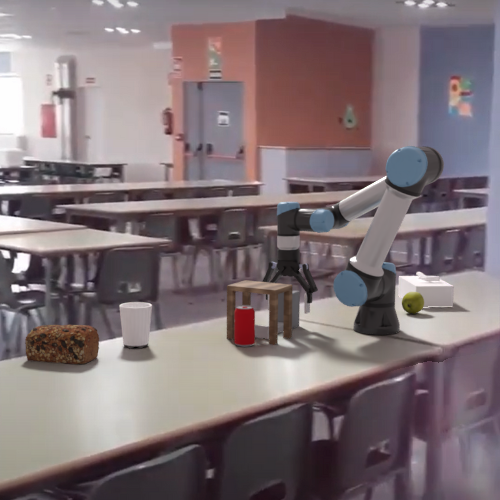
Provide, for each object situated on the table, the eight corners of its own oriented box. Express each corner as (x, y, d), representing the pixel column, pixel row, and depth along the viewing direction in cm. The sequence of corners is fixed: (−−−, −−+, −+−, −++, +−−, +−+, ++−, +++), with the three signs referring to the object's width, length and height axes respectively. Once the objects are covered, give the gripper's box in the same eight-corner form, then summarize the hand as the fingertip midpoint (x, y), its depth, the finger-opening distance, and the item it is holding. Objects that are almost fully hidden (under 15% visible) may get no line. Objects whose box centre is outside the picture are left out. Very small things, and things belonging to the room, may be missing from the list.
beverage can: (253, 342, 286) (254, 304, 284) (255, 347, 280) (255, 308, 278) (233, 342, 285) (233, 304, 284) (235, 347, 279) (235, 308, 278)
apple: (427, 312, 336) (428, 291, 335) (417, 316, 329) (418, 294, 328) (407, 310, 340) (408, 289, 339) (397, 314, 333) (398, 292, 332)
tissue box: (415, 309, 345) (416, 280, 343) (398, 297, 369) (399, 270, 368) (453, 308, 346) (454, 280, 345) (433, 297, 371) (434, 270, 369)
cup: (158, 344, 282) (158, 303, 281) (141, 351, 273) (141, 309, 272) (130, 341, 286) (130, 300, 285) (113, 347, 278) (112, 306, 276)
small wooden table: (291, 337, 294) (292, 284, 292) (274, 344, 283) (275, 290, 281) (244, 331, 302) (245, 280, 300) (226, 338, 291) (226, 285, 289)
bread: (100, 357, 266) (100, 323, 265) (83, 366, 256) (82, 331, 255) (42, 352, 271) (42, 319, 270) (23, 361, 261) (23, 326, 260)
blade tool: (299, 326, 311) (299, 291, 310) (267, 339, 291) (268, 301, 289) (283, 324, 314) (283, 289, 312) (251, 337, 294) (251, 299, 292)
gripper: (327, 248, 304) (327, 312, 306) (260, 245, 316) (261, 306, 318) (318, 251, 297) (318, 316, 300) (250, 247, 309) (250, 310, 312)
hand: (288, 311), depth 309 cm, fingers open, 13 cm apart
